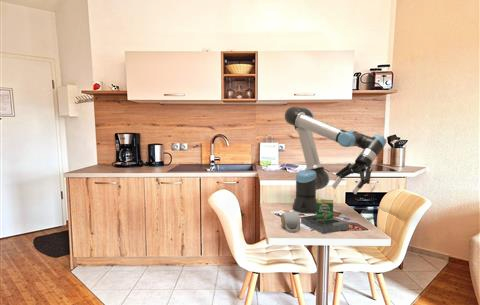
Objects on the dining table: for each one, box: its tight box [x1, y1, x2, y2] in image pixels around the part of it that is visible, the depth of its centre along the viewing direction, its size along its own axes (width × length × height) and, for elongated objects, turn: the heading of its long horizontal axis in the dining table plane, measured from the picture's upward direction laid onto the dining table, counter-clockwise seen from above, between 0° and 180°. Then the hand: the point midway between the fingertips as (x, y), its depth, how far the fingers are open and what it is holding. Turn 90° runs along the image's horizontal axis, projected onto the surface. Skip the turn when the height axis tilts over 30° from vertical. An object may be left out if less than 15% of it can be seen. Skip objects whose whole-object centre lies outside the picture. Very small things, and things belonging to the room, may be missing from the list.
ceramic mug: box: [280, 211, 301, 233], centre depth 123 cm, size 11×8×8 cm
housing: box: [300, 214, 350, 235], centre depth 127 cm, size 16×16×3 cm
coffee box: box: [316, 198, 334, 224], centre depth 126 cm, size 8×3×13 cm, turn 67°
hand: (343, 189), depth 131 cm, fingers open, 13 cm apart
